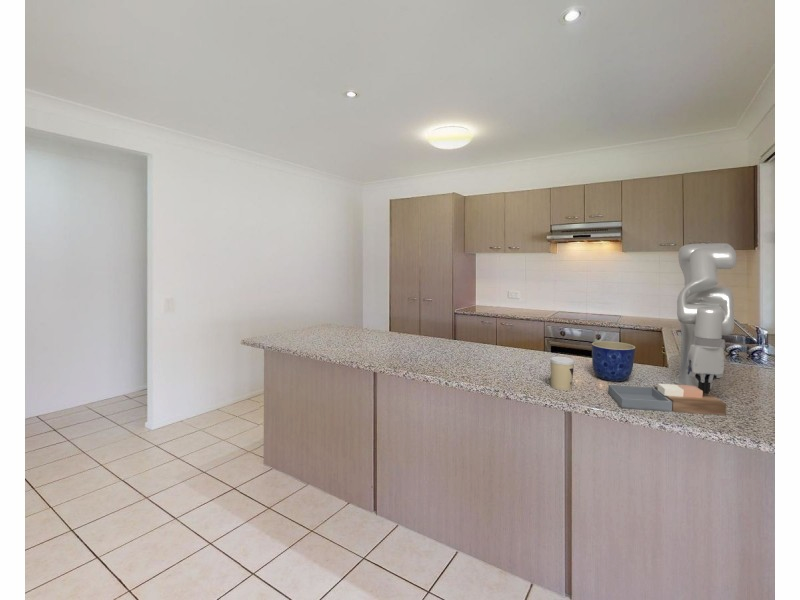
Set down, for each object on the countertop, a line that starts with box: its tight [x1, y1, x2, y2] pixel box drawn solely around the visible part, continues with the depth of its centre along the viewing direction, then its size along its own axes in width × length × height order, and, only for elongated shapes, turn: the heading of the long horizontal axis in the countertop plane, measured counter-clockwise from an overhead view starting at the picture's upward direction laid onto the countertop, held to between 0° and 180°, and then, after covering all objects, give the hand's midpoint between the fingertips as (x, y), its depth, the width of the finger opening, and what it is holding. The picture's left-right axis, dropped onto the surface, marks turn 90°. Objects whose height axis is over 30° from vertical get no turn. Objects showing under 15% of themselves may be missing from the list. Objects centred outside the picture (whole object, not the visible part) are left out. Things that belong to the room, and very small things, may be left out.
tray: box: [607, 384, 672, 412], centre depth 149 cm, size 16×16×4 cm
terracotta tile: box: [677, 385, 703, 398], centre depth 145 cm, size 6×6×2 cm
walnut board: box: [653, 385, 727, 416], centre depth 145 cm, size 16×16×4 cm
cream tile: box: [657, 383, 684, 397], centre depth 146 cm, size 6×6×2 cm
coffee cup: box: [549, 356, 575, 391], centre depth 166 cm, size 9×9×12 cm
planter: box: [591, 340, 636, 382], centre depth 177 cm, size 17×17×15 cm
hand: (703, 392), depth 144 cm, fingers closed
